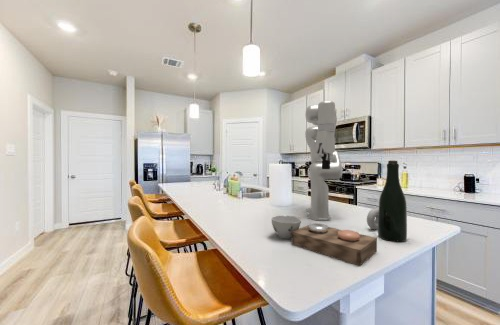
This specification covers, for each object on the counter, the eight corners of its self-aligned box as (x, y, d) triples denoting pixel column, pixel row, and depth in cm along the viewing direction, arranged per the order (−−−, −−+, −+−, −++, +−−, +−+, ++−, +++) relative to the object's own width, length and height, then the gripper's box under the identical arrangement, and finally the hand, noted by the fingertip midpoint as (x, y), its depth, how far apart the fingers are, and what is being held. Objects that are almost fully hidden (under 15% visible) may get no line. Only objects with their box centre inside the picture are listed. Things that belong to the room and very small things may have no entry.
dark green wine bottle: (405, 236, 100) (406, 160, 100) (407, 244, 91) (408, 160, 91) (378, 232, 106) (378, 160, 105) (377, 239, 97) (378, 160, 96)
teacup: (306, 239, 97) (306, 220, 96) (280, 243, 92) (280, 223, 92) (288, 229, 111) (288, 212, 111) (264, 232, 106) (264, 215, 106)
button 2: (334, 248, 84) (334, 232, 84) (342, 242, 89) (343, 228, 89) (354, 253, 79) (354, 237, 78) (362, 248, 84) (362, 232, 84)
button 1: (305, 239, 92) (305, 226, 92) (314, 235, 97) (314, 222, 97) (322, 244, 87) (322, 230, 87) (331, 239, 92) (331, 226, 92)
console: (291, 244, 92) (291, 231, 91) (312, 234, 103) (312, 223, 103) (360, 265, 73) (360, 250, 73) (376, 251, 84) (376, 237, 84)
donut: (371, 231, 107) (371, 210, 106) (364, 229, 110) (365, 208, 110) (385, 228, 111) (385, 208, 111) (378, 226, 114) (378, 206, 114)
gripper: (326, 130, 114) (326, 168, 114) (310, 128, 103) (310, 169, 104) (341, 129, 108) (341, 168, 109) (326, 126, 98) (325, 170, 98)
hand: (325, 169), depth 106 cm, fingers closed
